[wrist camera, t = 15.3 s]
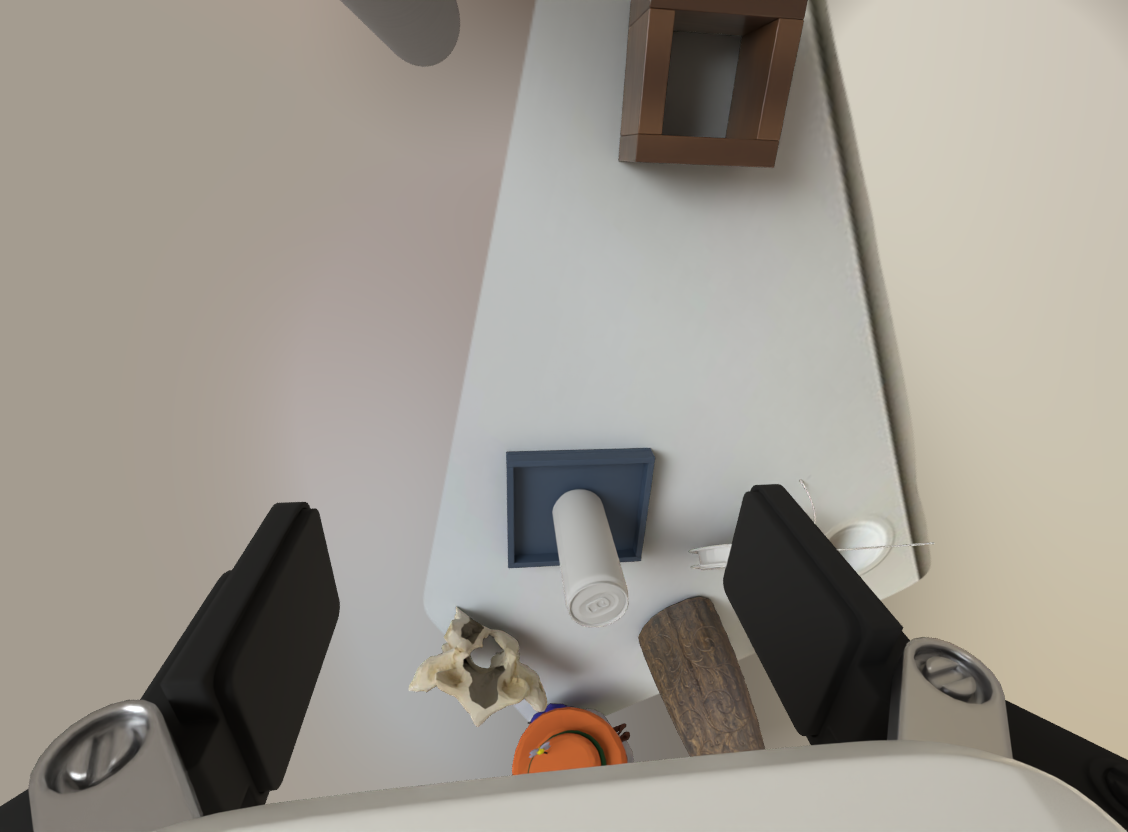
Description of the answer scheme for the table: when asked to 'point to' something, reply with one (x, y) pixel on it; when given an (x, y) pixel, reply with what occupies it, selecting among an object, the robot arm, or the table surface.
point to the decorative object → (479, 672)
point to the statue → (700, 679)
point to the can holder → (762, 83)
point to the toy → (570, 741)
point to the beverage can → (588, 560)
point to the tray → (554, 473)
